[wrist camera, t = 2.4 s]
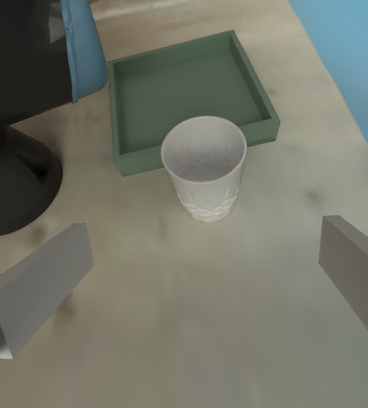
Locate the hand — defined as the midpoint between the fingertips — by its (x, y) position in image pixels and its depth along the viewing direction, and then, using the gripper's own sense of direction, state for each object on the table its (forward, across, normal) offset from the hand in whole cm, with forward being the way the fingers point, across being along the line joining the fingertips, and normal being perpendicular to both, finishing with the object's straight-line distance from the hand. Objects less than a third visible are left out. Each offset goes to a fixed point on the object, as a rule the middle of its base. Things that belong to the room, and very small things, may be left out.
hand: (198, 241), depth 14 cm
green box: (+30, -4, +9) cm, 31 cm away
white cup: (+18, 0, -3) cm, 18 cm away
